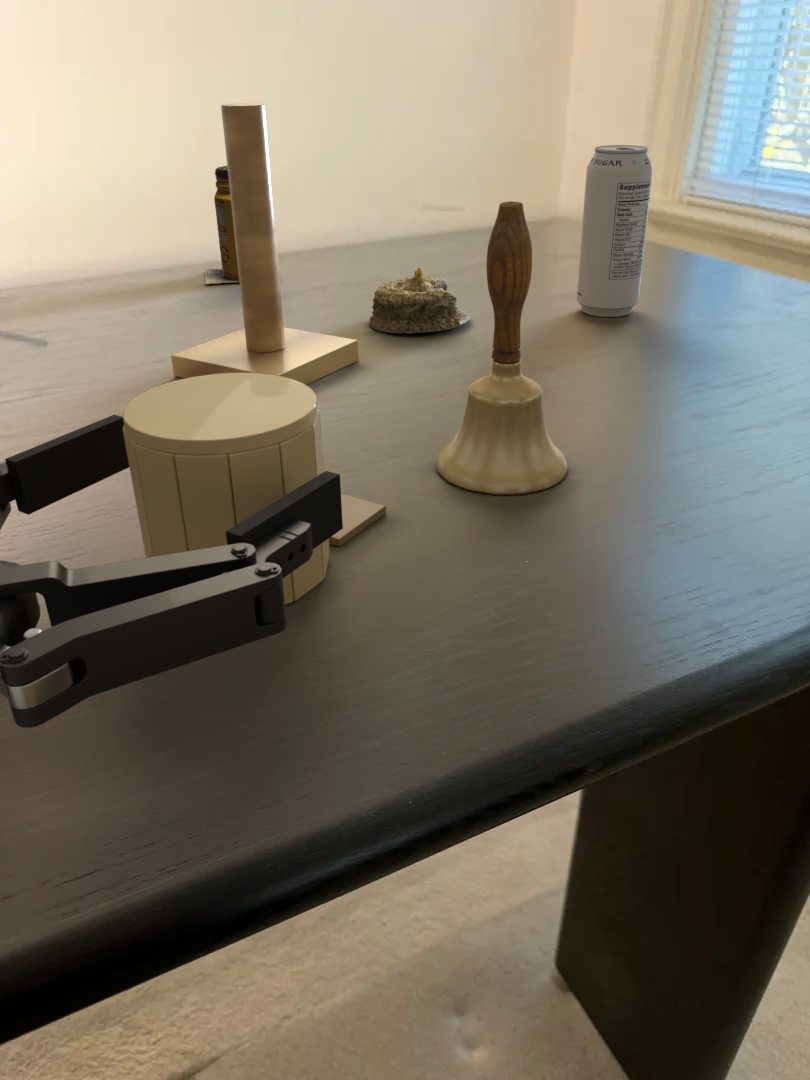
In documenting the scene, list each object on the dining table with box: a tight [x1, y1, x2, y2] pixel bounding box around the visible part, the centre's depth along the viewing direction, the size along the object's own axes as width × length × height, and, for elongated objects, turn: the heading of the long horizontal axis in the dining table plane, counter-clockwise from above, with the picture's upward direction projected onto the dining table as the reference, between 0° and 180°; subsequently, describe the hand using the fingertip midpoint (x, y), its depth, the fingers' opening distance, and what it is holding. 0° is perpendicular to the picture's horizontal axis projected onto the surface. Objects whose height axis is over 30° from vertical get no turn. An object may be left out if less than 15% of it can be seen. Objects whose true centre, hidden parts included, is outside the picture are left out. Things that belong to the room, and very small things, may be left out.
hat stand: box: [170, 102, 359, 386], centre depth 70 cm, size 11×11×20 cm
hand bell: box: [436, 200, 568, 496], centre depth 53 cm, size 8×8×16 cm
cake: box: [368, 267, 472, 334], centre depth 85 cm, size 10×10×5 cm
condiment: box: [204, 165, 240, 285], centre depth 102 cm, size 7×8×12 cm
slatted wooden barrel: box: [122, 373, 387, 605], centre depth 46 cm, size 9×13×9 cm
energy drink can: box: [576, 144, 654, 318], centre depth 85 cm, size 6×6×15 cm
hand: (222, 467), depth 43 cm, fingers open, 13 cm apart
